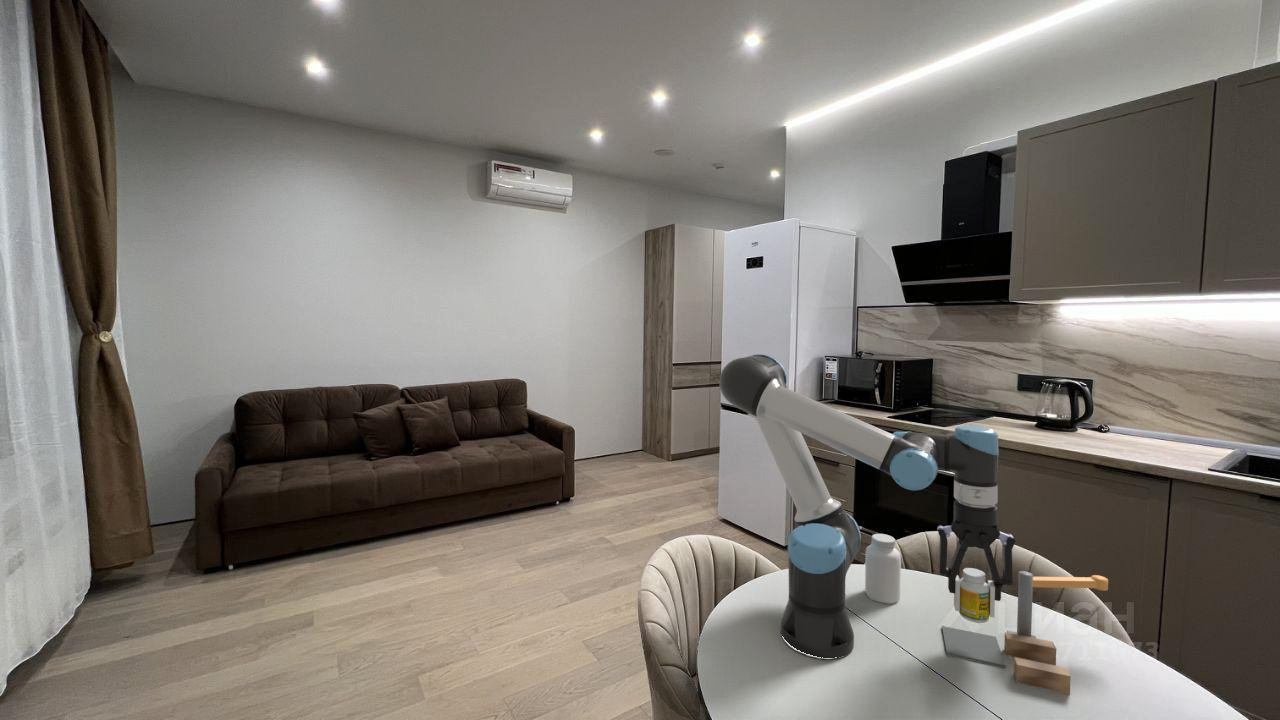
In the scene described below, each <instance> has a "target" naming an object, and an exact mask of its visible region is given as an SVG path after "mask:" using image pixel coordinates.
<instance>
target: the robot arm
mask: <svg viewBox="0 0 1280 720" xmlns="http://www.w3.org/2000/svg"><path fill="white" fill-rule="evenodd" d="M787 379H788V377H787V372H786V369H785V367H784V365H783V364H782V363H781V362H780V361H779V360H778V359H776V358H775V357H773V356H770V355H766V354H760V353H759V354H752V355H749V356H746V357H744V356H743V357H739V358H736V359H732V360H731V361H730V362H728V363H727V364H726V365H725V366H724V367H723V369H722V370H721V372H720V376H719V383H718V384H719V390H720V392H721V394H722V396H723V398H724V399H725V401H727V402H728V403H729V404H731V405H732V406H733V407H735V408H737V409H739V410H741V411H744V412H745V413H746V414H747V416H748V417H751V418H754V419H755V420H756V422H757V424H758V425H759V428H760V430H761V432H762V435H763V436H764V440H765V441H766V444H767V446H768V448H769V450H770V452H771V455H772V456H773V459H774V461H775V463H776V466H777V468H778V470H779V472H780V474H781V477H782V479H783V481H784V483H785V485H786V487H787V490H788V493H789V494H790V496H791V499H792V502H793V503H794V506H795V508H796V513H795V516H794V522H795V524H796V526H797V527H796V528H794V529H793V530H792V531H791V533H789V536H788V538H789V539H788V543H787V555H788V557H787V558H788V600H787V603H786V605H785V608H784V612H783V614H782V617H781V620H780V635H781V634H782V636H783V637H784V639H785V640H786V641H787V642H788V643H789V644H790V645H791V646H793V647H794V648H796V649H797V650H800V651H801V652H804V653H806V654H810V655H813V656H817V657H821V658H822V657H823V658H835V657H837V658H838V659H840V658H839V657H842V656H844V657H846V656H848V655H849V654H850V653H852V652H853V650H854V646H855V635H854V634H855V633H854V630H853V627H852V623H851V621H850V617H849V615H848V611H847V609H846V579H847V578H846V576H847V573H848V571H849V568H851V565H852V563H853V561H854V559H855V558H856V556H857V554H858V553H859V550H860V546H861V539H862V537H861V531H860V528H859V527H860V526H859V525H858V523H857V521H856V520H855V519H854V517H852V515H851V514H849V513H847V512H846V511H845V508H844V507H843V505H842V503H841V501H840V500H837V499H835V498H833V497H831V494H830V491H829V489H828V487H827V485H826V484H825V481H824V480H823V477H822V474H821V472H820V471H819V468H818V466H817V464H816V462H815V460H814V457H813V455H812V453H811V451H810V449H809V447H808V445H807V442H806V440H805V438H804V436H803V435H805V436H807V437H809V438H812V439H814V440H816V441H819V443H823V444H824V445H826V446H829V447H830V448H833V449H835V450H837V451H838V452H842V453H843V454H845V455H848V456H850V457H852V458H854V459H856V460H859V461H860V462H862V463H865V464H867V465H868V466H871V467H874V468H875V469H877V470H879V471H881V472H884V473H886V474H887V475H889V476H891V477H892V479H893V480H894V481H895V483H896V484H898V485H899V486H900V487H901V488H903V489H906V490H908V491H909V490H910V491H921V490H923V489H926V488H927V487H929V486H931V484H932V483H933V482H934V480H935V479H936V477H937V475H938V471H940V472H941V471H942V472H953V474H954V476H953V477H954V478H953V497H954V499H955V500H954V501H953V520H952V522H951V523H950V525H945V526H943V525H942V524H938V525H937V527H936V529H937V533H938V535H939V544H938V545H939V547H938V549H939V550H938V566H937V567H938V571H939V574H940V575H941V576H946V577H947V579H948V580H947V588H948V591H949V593H950V594H953V606H954V611H955V612H959V611H960V579H961V578H960V576H959V575H958V573H959V570H960V569H961V565H962V563H963V559H964V557H965V554H966V552H967V551H968V548H978V549H981V550H983V553H984V555H985V558H986V562H987V566H988V568H989V569H988V570H989V572H990V575H991V578H992V580H989V579H988V580H987V585H988V586H989V618H993V619H994V618H995V611H996V610H995V605H996V603H995V602H996V601H997V602H1000V601H1001V600H1002V588H1003V586H1012V585H1013V583H1014V582H1013V549H1014V546H1015V544H1016V539H1015V538H1014V536H1013V534H1011V533H1005V532H1002V531H1000V530H999V527H998V507H997V504H998V501H999V499H998V497H999V496H998V494H999V493H998V491H999V490H998V484H999V455H1000V453H999V435H998V433H997V431H995V430H994V429H992V428H989V427H987V426H980V425H960V426H957V427H955V429H954V433H953V434H950V435H949V434H948V435H947V434H937V433H927V432H926V433H923V432H913V431H895V432H893V433H891V432H888V431H886V430H883V429H881V428H879V427H876V426H875V425H872V424H870V423H867V422H865V421H863V420H861V419H859V418H856V417H854V416H852V415H849V414H847V413H845V412H842V411H840V410H838V409H836V408H833V407H831V406H828V405H826V404H824V403H821V402H819V401H817V400H815V399H812V398H810V397H808V396H805V395H804V394H801V393H799V392H796V391H794V390H792V389H789V388H788V387H787V381H788V380H787ZM952 532H953V534H954V535H955V536H956V538H957V545H956V548H955V550H954V554H953V556H952V559H951V562H950V564H949V567H947V565H948V563H947V560H948V545H949V544H948V538H949V537H951V533H952ZM997 539H999V541H1000V543H1001V547H1002V548H1001V551H1002V552H1001V553H1002V554H1001V555H1002V557H1001V558H1002V575H1000V574H999V571H998V568H997V565H996V561H995V558H994V555H993V551H992V548H991V545H992V544H993V543H994V542H995V541H996V540H997ZM782 636H781V637H782ZM845 655H846V656H845ZM842 658H843V657H842Z"/></svg>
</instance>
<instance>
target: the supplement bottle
mask: <svg viewBox="0 0 1280 720" xmlns="http://www.w3.org/2000/svg"><path fill="white" fill-rule="evenodd" d="M986 577H987V575H986V573H985V572H984V571H982V570H980V569H979V568H972V567H965V568H964V569H962V577H961V578H959V579H960V611H958V613H959V615H960V616H961V617H962V618H963V619H965V620H966V621H969V622H971V623H975V624H984V623H987V622H989V619H990V615H989V586H988V582H986V580H987V579H986Z"/></svg>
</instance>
